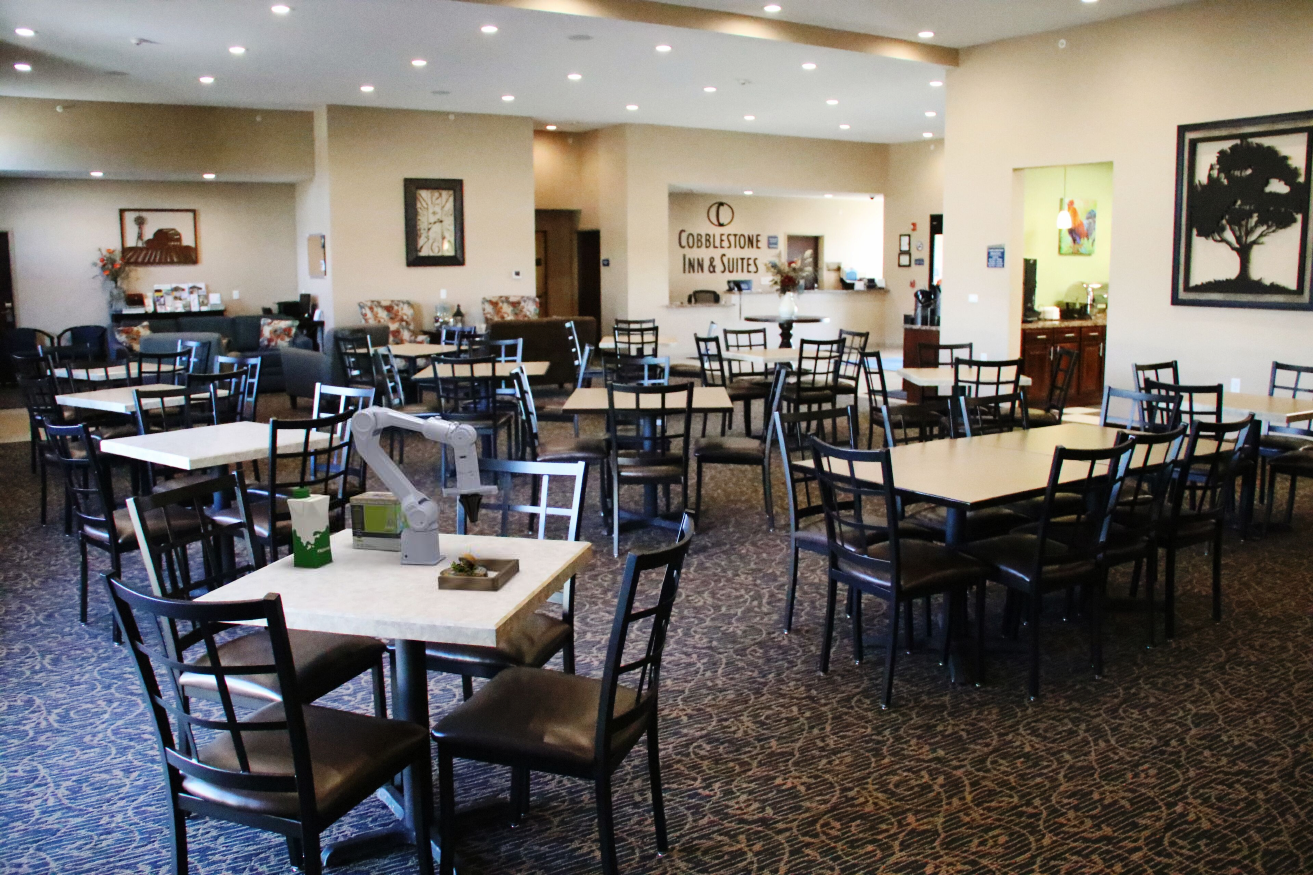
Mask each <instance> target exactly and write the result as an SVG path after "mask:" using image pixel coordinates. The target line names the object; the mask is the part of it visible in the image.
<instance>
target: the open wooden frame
mask: <svg viewBox="0 0 1313 875" xmlns="http://www.w3.org/2000/svg"><path fill="white" fill-rule="evenodd" d="M474 558H475V559H476V564H475V565H477V566H481V567H484V568H486V569H487V572H497V574H495V575H494V576H491V577H490V576H489V577H484V576H482V577H466V576H441V575H439V576H437V587H438V590H451V591H453V590H454V591H481V592H482V591H483V592H497V591H499V590H500V589H502V587H504V585H506V584H507V583H508V582H509V581H510V580H511V579H512V578H513V577H514V576H515V575H516V574H518V572H520V559H517V558H484V557H483V558H482V557H474Z"/></svg>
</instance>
